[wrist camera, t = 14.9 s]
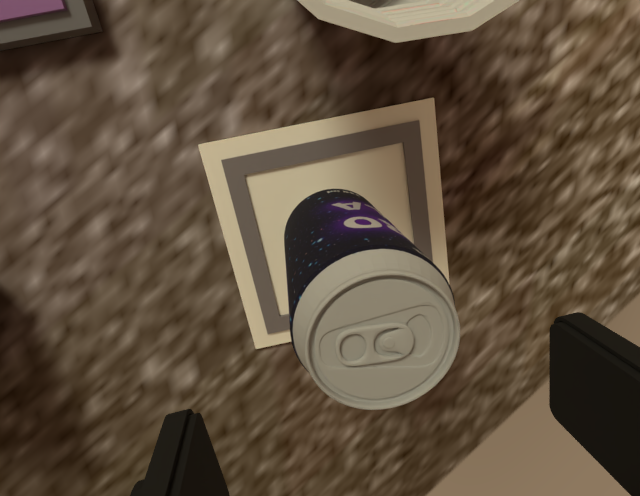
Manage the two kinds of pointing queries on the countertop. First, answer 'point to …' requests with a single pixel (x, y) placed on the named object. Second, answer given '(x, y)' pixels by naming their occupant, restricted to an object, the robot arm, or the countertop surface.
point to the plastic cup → (407, 16)
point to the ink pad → (45, 21)
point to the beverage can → (365, 304)
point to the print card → (316, 175)
